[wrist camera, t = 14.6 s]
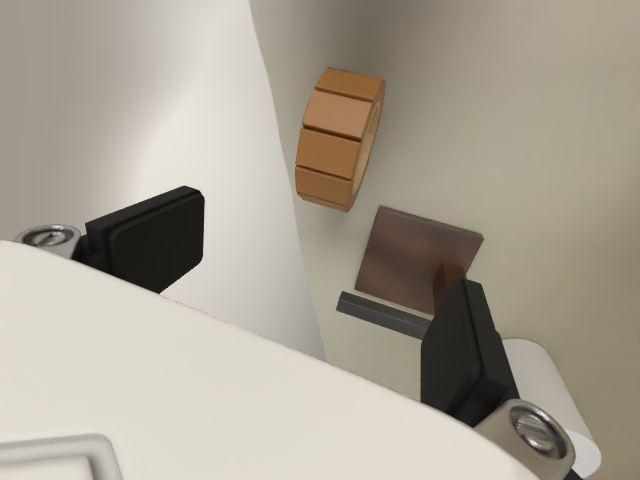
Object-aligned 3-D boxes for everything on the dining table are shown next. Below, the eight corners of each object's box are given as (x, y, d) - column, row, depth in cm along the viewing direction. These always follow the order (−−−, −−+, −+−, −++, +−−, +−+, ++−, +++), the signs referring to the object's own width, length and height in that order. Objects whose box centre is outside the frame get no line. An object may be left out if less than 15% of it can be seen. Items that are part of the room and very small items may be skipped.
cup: (472, 345, 41) (491, 430, 31) (540, 332, 38) (589, 422, 27) (492, 389, 43) (516, 482, 33) (559, 380, 40) (610, 481, 29)
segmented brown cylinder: (345, 72, 32) (310, 61, 22) (389, 82, 31) (376, 75, 21) (322, 181, 38) (286, 214, 27) (360, 192, 37) (338, 230, 26)
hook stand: (372, 203, 37) (352, 250, 26) (482, 234, 35) (514, 300, 24) (348, 282, 43) (324, 349, 31) (442, 313, 41) (453, 397, 29)
